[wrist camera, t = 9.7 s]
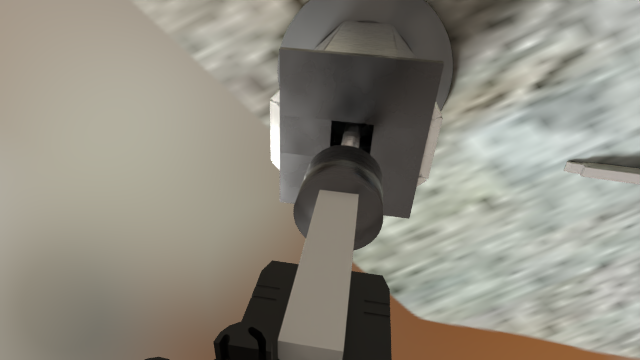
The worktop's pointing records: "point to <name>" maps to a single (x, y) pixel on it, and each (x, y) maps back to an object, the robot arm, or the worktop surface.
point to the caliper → (605, 171)
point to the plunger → (345, 182)
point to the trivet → (384, 7)
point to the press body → (358, 108)
